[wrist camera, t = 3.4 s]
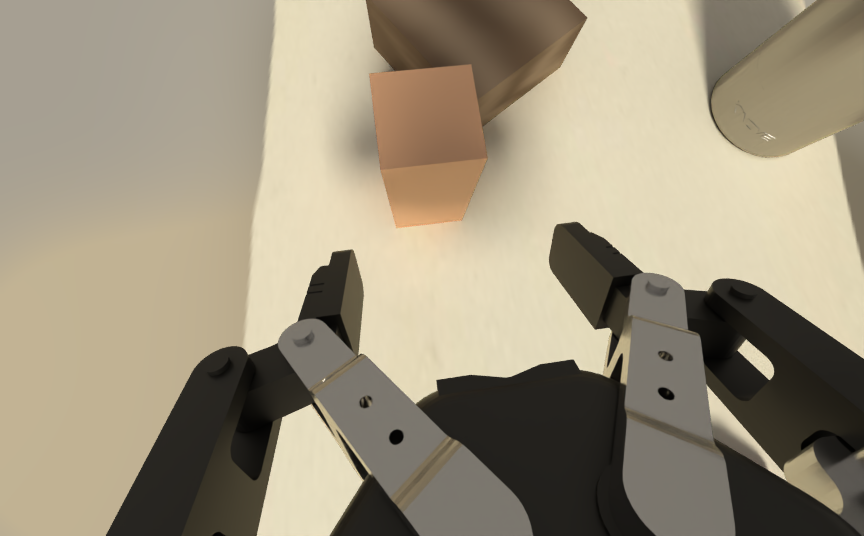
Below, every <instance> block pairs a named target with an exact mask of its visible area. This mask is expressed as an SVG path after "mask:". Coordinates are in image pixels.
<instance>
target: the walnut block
mask: <svg viewBox="0 0 864 536" xmlns="http://www.w3.org/2000/svg"><path fill="white" fill-rule="evenodd" d="M366 4H367V9H368V15H369V21H370V27H371V32H372V38H373V44H374V48H375V49H376V50H377V51H378V52H379V53H380V54H381V55H382V57H383V58H384V59H385V60H386V61H387V62H388V63H389V64H390V65H391V66H392V68H393V69H394V70H395V71H403V70H414V69H425V68H436V67H447V66H458V65H469V64H471V66H472V72H473V77H474V83H475V89H476V95H477V100H478V106H479V112H480V117H481V123H482V126H484V125H485V124H486V123H488V122H489V121H490V120H492V119H493V118H494V117H496V116H497V115H498V114H499V113H501V112H502V111H503V110H505V109H506V108H507V107H509V106H510V105H511V104H513V103H514V102H515V101H516V100H518V99H519V98H520V97H522V96H523V95H524V94H526V93H527V92H528V91H530V90H531V89H532V88H533V87H535V86H536V85H537V84H539V83H540V82H541V81H543V80H544V79H545V78H546V77H548V76H549V75H550V74H552V73H553V72H554V71H556V70H557V69H558V68H560V66H561V65H562V63H563V61H564V59H565V57H566V55H567V54H568V52H569V50H570V48H571V46H572V45H573V43H574V41H575V39H576V37H577V36H578V34H579V32H580V30H581V28H582V27H583V25H584V23H585V21H586V19H587V17H586V16H585V15H584V14H583V13H582V12H581V11H580V10H579V9H578V8H577V7H576V6H575V5H574V4H573V3H572V2H571V1H570V0H366Z"/></svg>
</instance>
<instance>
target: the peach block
mask: <svg viewBox="0 0 864 536" xmlns="http://www.w3.org/2000/svg"><path fill="white" fill-rule="evenodd" d="M369 75H370V83H371V92H372V101H373V109H374V118H375V126H376V135H377V144H378V152H379V161H380V169H381V173H382V177H383V181H384V184H385V188H386V191H387V195H388V199H389V202H390V206H391V210H392V213H393V217H394V221H395V224H396V228H402V227H410V226H419V225H427V224H435V223H444V222H452V221H460V220H462V219H463V216H464V214H465V211H466V209H467V207H468V204H469V202H470V199H471V197H472V195H473V192H474V190H475V187H476V185H477V183H478V180H479V178H480V175H481V173H482V171H483V168H484V166H485V163H486V161H487V159H488V157H487V152H486V146H485V140H484V134H483V129H482V123H481V117H480V112H479V106H478V100H477V95H476V89H475V83H474V77H473V72H472V66H471V64H469V65H458V66H447V67H436V68H425V69H414V70H403V71H392V72H382V73H371V74H369Z"/></svg>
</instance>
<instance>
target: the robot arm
mask: <svg viewBox="0 0 864 536" xmlns="http://www.w3.org/2000/svg"><path fill="white" fill-rule="evenodd" d="M711 105H712V112H713V115H714V119H715V121H716V123H717V125H718V127H719V129H720V130H721V131H722V133H723V134H724V135H725V136H726V138H727V139H729V140H730V141H731V142H732V143H733V144H734V145H735V146H737V147H739V148H740V149H742V150H744V151H745V152H748V153H751V154H753V155H756V156H762V157H780V156H784V155H788V154H790V153H792V152H794V151H797V150H799V149H801V148H804V147H806V146H808V145H810V144H813V143H815V142H817V141H819V140H822V139H824V138H826V137H828V136H831V135H833V134H835V133H837V132H840V131H842V130H844V129H847V128H849V127H851V126H854V125H856V124H858V123H860V122H863V121H864V0H816V1H815V2H814V3H812V4H811V5H810V6H809V7H807V8H806V9H805V10H804V11H802V12H801V13H800V14H799V15H797V16H796V17H795V18H794V19H792V20H791V21H790V22H789V23H787V24H786V25H785V26H784V27H782V28H781V29H780V30H779V31H778V32H776V33H775V34H774V35H772V36H771V37H770V38H769V39H767V40H766V41H765V42H764V43H762V44H761V45H760V46H759V47H757V48H756V49H755V50H754V51H752V52H751V53H750V54H749V55H747V56H746V57H745V58H744V59H743V60H741V61H740V62H739V63H738V64H736V65H735V66H734V67H733V68H731V69H730V70H729V71H728V72H726V73H725V74H724V75H723V76H722V77H721V78H720V79H719V80H718V82H717V83H716V85H715V87H714V89H713V92H712V99H711ZM549 264H550V268H551V270H552V272H553V274H554V275H555V276H556V278H557V279H558V280H559V282H560V283H561V284H562V286H563V287H564V288H565V290H566V291H567V292H568V294H569V295H570V296H571V298H572V299H573V301H574V302H575V303H576V305H577V306H578V307H579V309H580V310H581V311H582V313H583V314H584V315H585V317H586V318H587V319H588V321H589V322H590V324H591V325H592V326H593V328H594V329H602V328H610V329H611V333H610V336H609V340H608V346H607V352H606V358H605V365H604V371H603V375H600V374H596V373H593V372H588V371H583V370H579V368H578V366H577V365H576V363H575V361H574V360H566V361H560V362H553V363H546V364H540V365H538V366H535V367H533V368H531V369H528V370H526V371H524V372H521V373H519V374H517V375H515V376H512V377H508V378H503V377H491V376H478V375H467V376H460V377H454V378H447V379H441V380H436V381H437V390H438V391H436V392H434V393H432V394H430V395H428V396H426V397H425V398H423V399H422V400H420V401H419V402H418V403H416V404H415V403H414V402H412V401H411V400H410V399H409V398H408V397H407V396H406V395H405V394H404V393H403V392H402V391H401V390H400V389H399V388H398V387H397V386H396V385H395V384H394V383H393V382H392V381H391V380H390V379H389V378H388V377H387V376H386V375H385V374H384V373H383V372H382V371H381V370H380V369H379V368H378V367H377V366H376V365H375V364H374V363H373V362H372V361H371V360H370V359H369V358H368V357H367V356H365V355H364V354H360V355H359V356H358V352H359V341H360V330H361V319H362V308H363V297H364V292H363V284H362V279H361V276H360V272H359V268H358V264H357V260H356V257H355V253H354V251H353V250H344V251H336V252H333V253H332V256H331V260H330V264H329V265H328V266H321V267H320V268H319V269H318V270H317V271H316V272H315V273H314V274H313V275H312V278H311V281H310V284H309V286H310V287H308V291H307V295H306V297H305V300H304V303H303V306H302V309H301V312H300V315H299V318H298V322H296V323H294V324H293V325H291V326H289V327H288V328H287V329H286V330H285V331H284V332H283V333H282V334H281V336H280V338H279V341H278V343H277V344H275V345H273V346H271V347H268V348H266V349H263V350H260V351H258V352H255V353H252V354H250V355H248V354H247V352H246V351H245V349H243V348H241V347H237V346H231V347H226V348H222V349H220V350H217V351H215V352H213V353H211V354H210V355H208V356H207V357H205V358H204V359H203V360H202V361H201V362H200V363H199V364H198V365H197V366H196V367H195V368H194V370H193V372H192V373H191V375H190V377H189V379H188V381H187V383H186V385H185V387H184V389H183V391H182V392H181V394H180V396H179V398H178V400H177V402H176V404H175V406H174V408H173V409H172V411H171V413H170V415H169V417H168V419H167V421H166V423H165V425H164V426H163V428H162V430H161V432H160V434H159V436H158V438H157V440H156V442H155V444H154V446H153V447H152V449H151V451H150V453H149V455H148V457H147V459H146V461H145V462H144V464H143V467H142V468H141V470H140V472H139V474H138V476H137V478H136V480H135V481H134V483H133V485H132V487H131V489H130V491H129V493H128V495H127V497H126V498H125V500H124V502H123V504H122V506H121V508H120V510H119V512H118V514H117V516H116V517H115V519H114V521H113V523H112V525H111V527H110V529H109V531H108V533H107V534H106V536H257V531H258V526H259V522H260V517H261V513H262V508H263V504H264V499H265V494H266V490H267V485H268V481H269V476H270V472H271V467H272V462H273V458H274V453H275V449H276V444H277V439H278V435H279V430H280V426H281V421H282V417H284V416H286V415H288V414H290V413H293V412H295V411H297V410H299V409H301V408H304V407H306V406H308V405H310V404H311V406H312V407H313V409H314V410H315V411H316V413H317V414H318V416H319V417H320V419H321V420H322V422H323V423H324V424H325V426H326V427H327V429H328V430H329V432H330V433H331V434H332V436H333V437H334V439H335V440H336V442H337V443H338V445H339V446H340V448H341V449H342V451H343V452H344V454H345V456H346V457H347V459H348V460H349V462H350V464H351V465H352V467H353V468H354V470H355V471H356V472H357V474H358V475H359V477H360V478H361V480H362V481H363V483H362V485H361V486H360V488H359V489H358V491H357V493H356V494H355V496H354V497H353V499H352V501H351V502H350V504H349V505H348V507H347V509H346V510H345V512H344V513H343V515H342V517H341V518H340V520H339V521H338V523H337V525H336V526H335V528H334V529H333V531H332V533H331V534H330V536H864V359H863V358H861V357H860V356H859V355H857V354H856V353H854V352H853V351H851V350H850V349H848V348H847V347H846V346H844V345H843V344H841V343H840V342H838V341H837V340H835V339H834V338H833V337H831V336H830V335H828V334H827V333H825V332H824V331H822V330H821V329H819V328H818V327H817V326H815V325H814V324H812V323H811V322H809V321H808V320H806V319H805V318H804V317H802V316H801V315H799V314H798V313H796V312H795V311H793V310H792V309H791V308H789V307H788V306H786V305H785V304H783V303H782V302H780V301H779V300H777V299H776V298H775V297H773V296H772V295H770V294H769V293H767V292H766V291H764V290H763V289H761V288H759V287H757V286H755V285H753V284H751V283H748V282H745V281H741V280H736V279H727V278H726V279H718V280H716V281H714V282H713V283H712V285H711V287H710V288H709V290H708V291H695V290H684V289H683V288H682V286H681V285H680V284H678V283H677V282H676V281H674V280H672V279H670V278H668V277H666V276H663V275H659V274H654V273H643V272H642V271H641V270H640V269H639V268H637V267H636V266H635V265H634V264H633V263H632V262H631V261H629V260H628V259H627V258H626V257H625V256H624V255H623V254H620V252H619V251H618V250H617V249H616V248H615V247H613V246H612V245H611V244H610V243H609V242H608V241H607V240H605V239H604V238H602V237H600V236H598V235H596V234H594V233H592V232H589V231H588V230H586V229H585V228H584V227H583V226H582V225H581V224H580V223H578V222H571V223H563V224H557V225H556V227H555V229H554V234H553V239H552V245H551V250H550V255H549ZM746 339H747V340H748V341H749V342H750V343H751V344H752V345H753V346H755V347H756V348H757V349H758V350H759V351H760V352H762V353H763V354H764V355H765V356H766V357H767V358H768V359H769V360H770V361H771V363H772V364H773V367H774V376H773V377H772V378H771V379H770V380H768V379H767V378H766V377H765V376H764V375H763V374H762V373H761V372H760V371H759V370H758V369H757V368H755V367H754V366H753V365H752V364H751V363H750V362H749V361H748V360H747V359H746V358H745V357H744V356H743V355H742V354H740V353H739V352H738V351H737V350H738V349H739V347H740V346H741V345H742V344H743V342H744V341H745V340H746ZM706 384H707V386H708V387H709V388H710V389H711V390H712V391H713V392H714V394H715V395H716V396H717V397H718V398H719V399H720V400H721V402H722V403H723V404H724V405H725V406H726V407H727V408H728V409H729V411H730V412H731V413H732V414H733V415H734V416H735V417H736V419H737V420H738V421H739V422H740V423H741V424H742V425H743V427H744V428H745V429H746V430H747V431H748V432H749V433H750V435H751V436H752V437H753V438H754V439H755V440H756V441H757V443H758V444H759V445H760V446H761V447H762V448H763V449H764V451H765V452H766V453H767V454H768V455H769V456H770V457H771V459H772V460H773V461H774V462H775V463H776V464H777V465H778V467H779V468H780V469H781V470H782V471H783V472H784V475H785V478H786V480H787V481H785V480H784V479H782V478H780V477H779V476H777V475H775V474H773V473H772V472H770V471H768V470H767V469H765V468H763V467H762V466H760V465H758V464H757V463H755V462H753V461H751V460H750V459H748V458H746V457H745V456H743V455H741V454H740V453H738V452H736V451H734V450H733V449H731V448H729V447H728V446H726V445H724V444H723V443H721V442H719V441H718V440H716V439H714V438H713V434H712V426H711V418H710V410H709V402H708V394H707V386H706Z"/></svg>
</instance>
